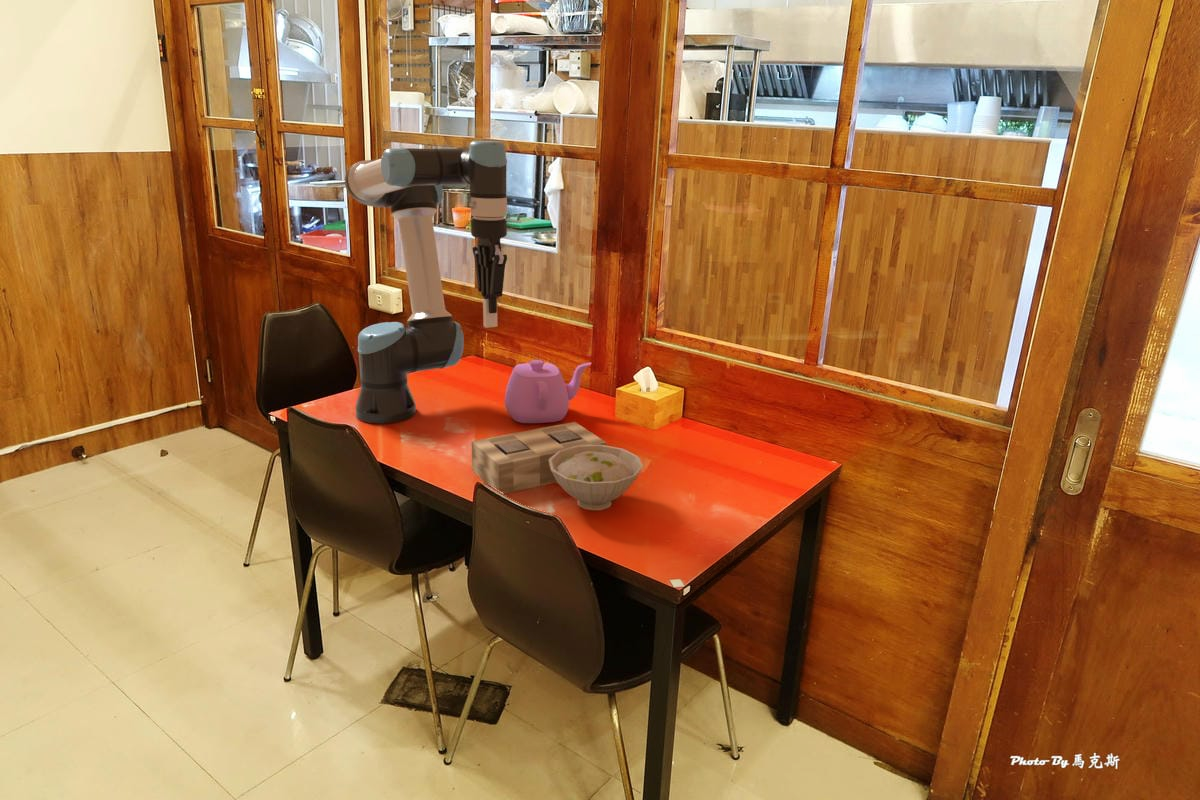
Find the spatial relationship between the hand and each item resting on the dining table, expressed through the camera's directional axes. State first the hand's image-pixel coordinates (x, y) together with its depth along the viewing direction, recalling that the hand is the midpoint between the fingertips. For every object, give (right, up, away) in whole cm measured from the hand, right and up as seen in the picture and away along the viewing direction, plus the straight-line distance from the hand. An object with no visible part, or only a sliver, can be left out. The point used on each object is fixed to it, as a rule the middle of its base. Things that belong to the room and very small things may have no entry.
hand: (490, 326), depth 176 cm
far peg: (+16, -30, +5) cm, 35 cm away
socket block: (+11, -32, +2) cm, 34 cm away
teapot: (+8, -21, +34) cm, 41 cm away
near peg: (+5, -32, -2) cm, 33 cm away
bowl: (+23, -38, -12) cm, 46 cm away
